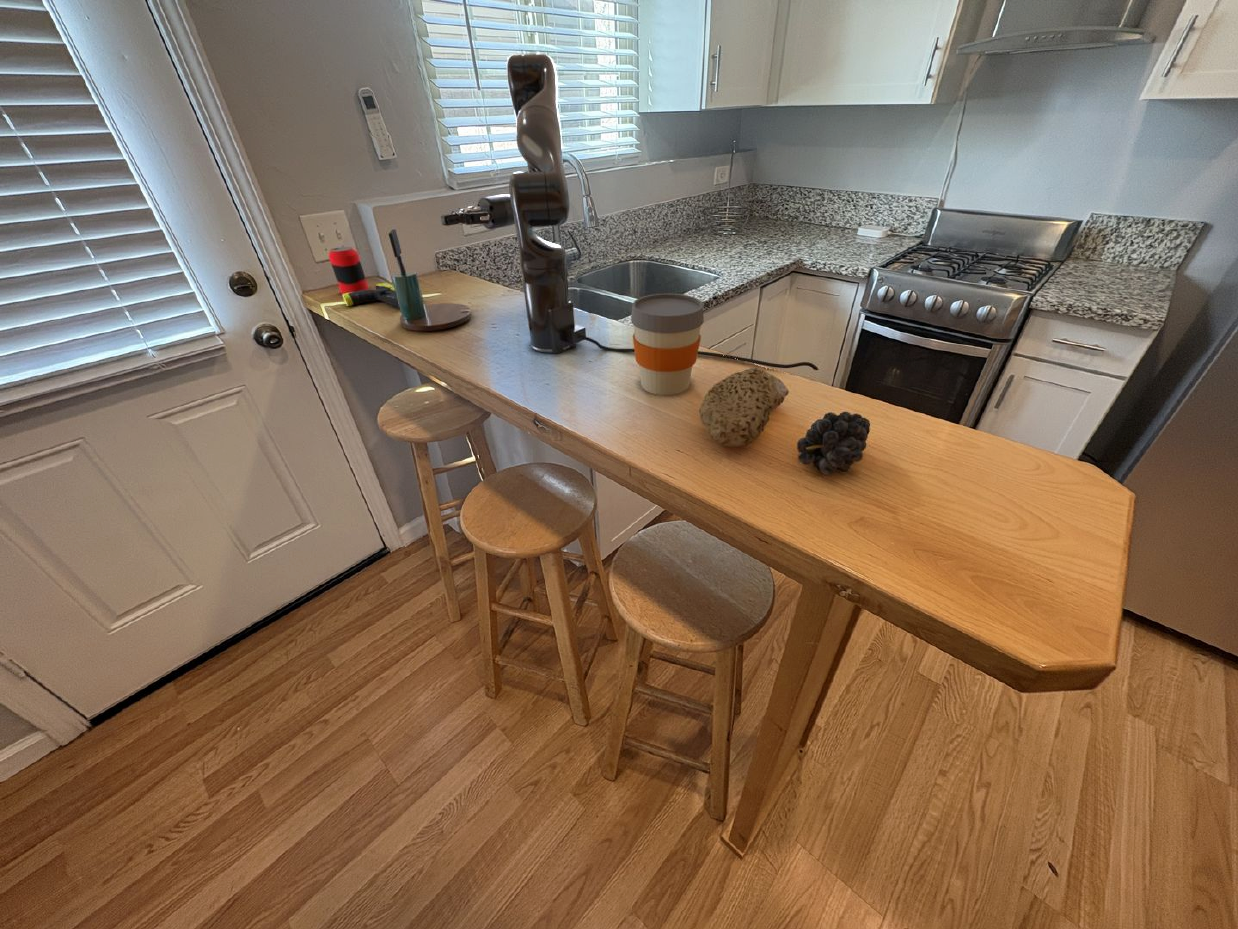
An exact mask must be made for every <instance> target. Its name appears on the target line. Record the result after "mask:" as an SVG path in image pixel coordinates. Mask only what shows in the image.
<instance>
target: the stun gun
mask: <svg viewBox="0 0 1238 929" xmlns="http://www.w3.org/2000/svg"><path fill="white" fill-rule="evenodd" d="M341 296H342V299H343V301H344V303H345V305H346V306H347V307H351V306H355V305H356V306H357V305H360V304H364V303H370V302H375V301H381V302H384V303H386V304H388V305H390V306H393V307H397V308H399V309H400V307H399V304H398V300H397V297H396V293H395V290H394V286H393V284H391V283H388V282H380V283H376V284H375V289H369V290H359V291H355V292H350V293H345V294H342V293H341Z"/></svg>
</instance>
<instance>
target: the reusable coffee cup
mask: <svg viewBox="0 0 1238 929" xmlns="http://www.w3.org/2000/svg"><path fill="white" fill-rule="evenodd" d="M630 322H631V324H632V326H633V334H632V342H633V349H634V350H635V352H634V357H635V363H637V365H638V369H639V370H638V372H639V377H640V385H641V387H642V389H644V391H646V392H648V393H650V394H653V395H657V396H671V395H673V396H675V395H677V394H681V393H683V392H685V391H687V389H688V388H689V386H690V381H691V380H690V379H691V377H692V371H693V367H694V365H695V364H696V362H697V359H698V351H699V348H700V345H701V340H702V336H701V334H700V333H701V328H702V326H703V324H704V302H703V301H702V300H700V299H699V298H697V297H695V296H691V295H687V294H682V293H653V294H648V295H644V296H641V297H639V298H637V299H635V300H634V301H633V302H632V306H631V317H630Z"/></svg>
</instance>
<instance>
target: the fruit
mask: <svg viewBox="0 0 1238 929" xmlns="http://www.w3.org/2000/svg"><path fill="white" fill-rule="evenodd" d="M870 427H871V422H870V420H869V419H868V418H866V417H863V416H862V414H860V413H850V412H849V411H843V412H840V413H839V414H836V413H835V412H831V411H830V412H827V413H825V414H824V415H823V416H822V418H819V419H818V418H817V419H816V420H815V421H814V422H812V424H811V425H810V428H809V429H807V431H806V433H805V436H804V437H800V438H799V439H798V441H797V443H796V449H797V451H798V453H799V454H798V457H797V459H798V462H799V463H800V464H802V465H810V464H812V465H813V467H814V468H815V469H816V470H817V471H821V473H822V474H823V475H826V476H831V475H833V474H834V473H835V472H836V471H837V472H839V473H841V474H845V473H848V472H849V470H850V469H851V466H853V465H854V464H855V463H859V462H860V461H862V460H863V458H864V454H863V451H865V449H866V448H867V440H868V438H869V437H868V436H869V433H870V432H871V428H870Z"/></svg>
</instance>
